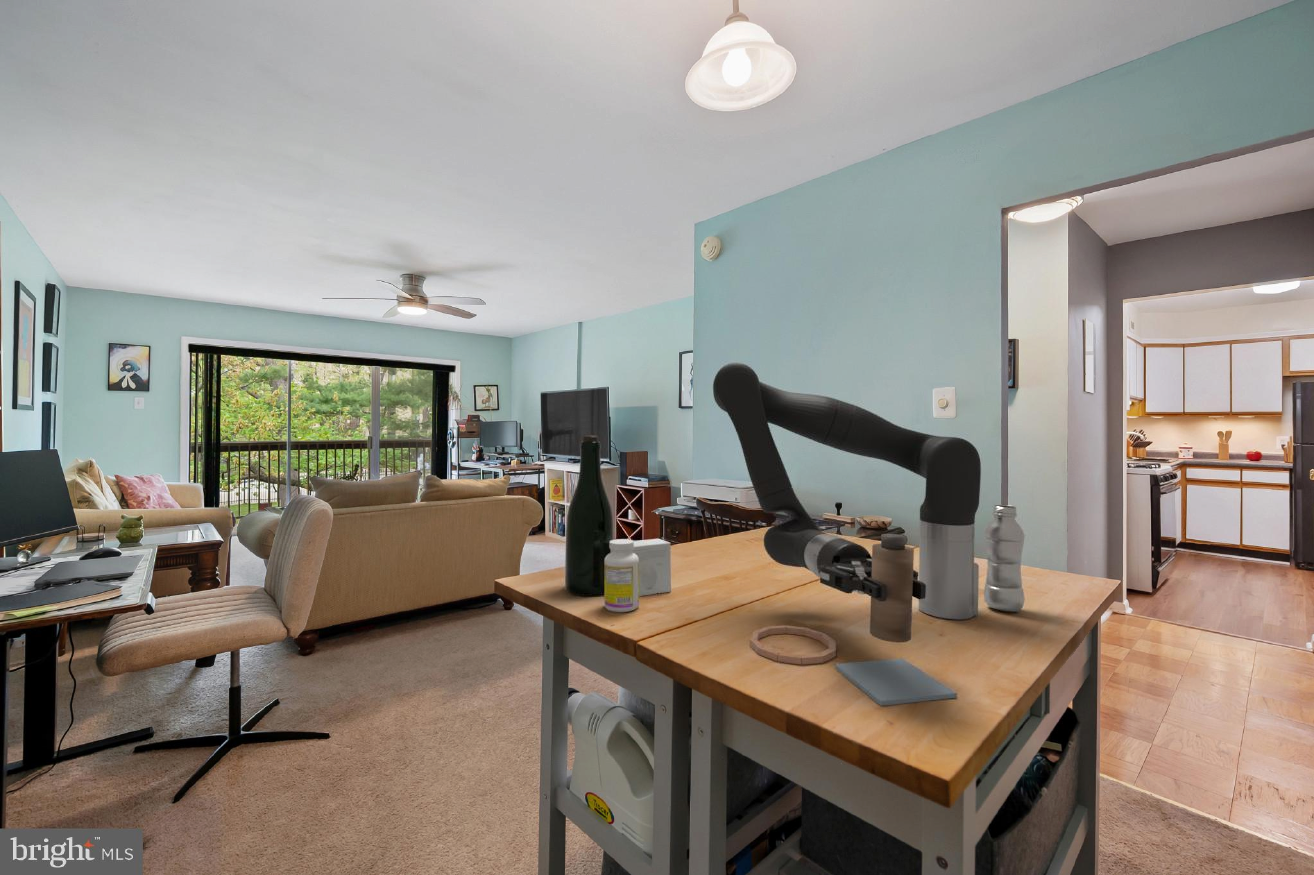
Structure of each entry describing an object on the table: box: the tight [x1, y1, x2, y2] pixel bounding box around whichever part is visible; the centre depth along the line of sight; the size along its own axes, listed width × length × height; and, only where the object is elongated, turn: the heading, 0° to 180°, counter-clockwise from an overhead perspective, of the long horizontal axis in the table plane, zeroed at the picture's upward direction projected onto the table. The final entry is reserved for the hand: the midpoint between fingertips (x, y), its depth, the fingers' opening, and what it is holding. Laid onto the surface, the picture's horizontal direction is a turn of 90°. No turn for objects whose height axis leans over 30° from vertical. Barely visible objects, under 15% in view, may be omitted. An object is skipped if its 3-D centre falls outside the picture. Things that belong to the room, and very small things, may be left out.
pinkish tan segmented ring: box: [749, 625, 837, 665], centre depth 87 cm, size 13×13×1 cm
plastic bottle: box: [982, 504, 1026, 612], centre depth 106 cm, size 6×7×20 cm
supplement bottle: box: [604, 538, 640, 613], centre depth 106 cm, size 7×7×13 cm
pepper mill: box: [869, 533, 915, 643], centre depth 75 cm, size 5×5×14 cm
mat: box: [834, 657, 958, 707], centre depth 75 cm, size 11×11×1 cm
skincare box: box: [633, 538, 672, 597], centre depth 117 cm, size 10×6×10 cm, turn 115°
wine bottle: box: [564, 434, 615, 597], centre depth 117 cm, size 10×10×33 cm
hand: (903, 592), depth 73 cm, fingers closed on pepper mill, 5 cm apart
